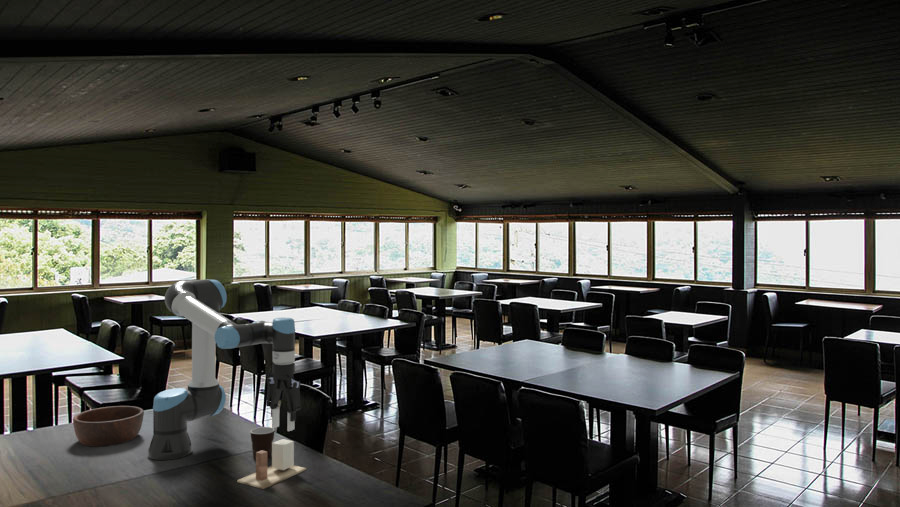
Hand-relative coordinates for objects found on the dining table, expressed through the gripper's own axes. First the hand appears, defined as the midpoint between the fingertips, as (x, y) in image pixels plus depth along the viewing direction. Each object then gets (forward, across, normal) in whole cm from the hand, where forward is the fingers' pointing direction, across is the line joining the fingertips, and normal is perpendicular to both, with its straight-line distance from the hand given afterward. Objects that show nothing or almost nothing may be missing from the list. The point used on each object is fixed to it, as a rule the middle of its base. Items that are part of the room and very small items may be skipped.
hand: (283, 428), depth 219 cm
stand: (+15, 0, -5) cm, 16 cm away
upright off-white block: (+13, 0, 0) cm, 13 cm away
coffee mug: (+15, -17, +8) cm, 24 cm away
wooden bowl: (+15, -85, -9) cm, 87 cm away
